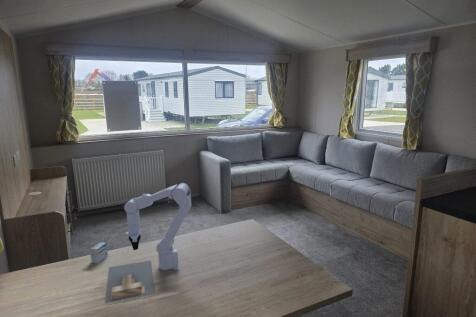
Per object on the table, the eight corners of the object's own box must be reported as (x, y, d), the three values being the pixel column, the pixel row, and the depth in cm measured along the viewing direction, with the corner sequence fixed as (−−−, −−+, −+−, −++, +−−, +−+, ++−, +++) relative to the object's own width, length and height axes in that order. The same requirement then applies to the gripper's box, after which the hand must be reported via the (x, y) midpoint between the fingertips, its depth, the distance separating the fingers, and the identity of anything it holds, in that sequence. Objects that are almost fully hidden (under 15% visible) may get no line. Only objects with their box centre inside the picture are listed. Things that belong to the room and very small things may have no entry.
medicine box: (99, 265, 157) (97, 249, 155) (91, 264, 158) (89, 248, 156) (108, 257, 165) (107, 242, 163) (100, 256, 166) (99, 241, 164)
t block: (141, 277, 145) (140, 272, 144) (142, 291, 134) (141, 286, 134) (113, 282, 141) (113, 277, 140) (112, 297, 130) (111, 291, 130)
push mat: (150, 262, 160) (150, 260, 160) (155, 295, 133) (155, 293, 133) (109, 269, 154) (109, 267, 153) (104, 305, 127) (104, 303, 126)
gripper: (125, 219, 157) (127, 244, 160) (124, 230, 143) (126, 257, 146) (139, 217, 159) (141, 241, 162) (140, 228, 146) (142, 255, 148)
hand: (135, 249), depth 154 cm, fingers closed
